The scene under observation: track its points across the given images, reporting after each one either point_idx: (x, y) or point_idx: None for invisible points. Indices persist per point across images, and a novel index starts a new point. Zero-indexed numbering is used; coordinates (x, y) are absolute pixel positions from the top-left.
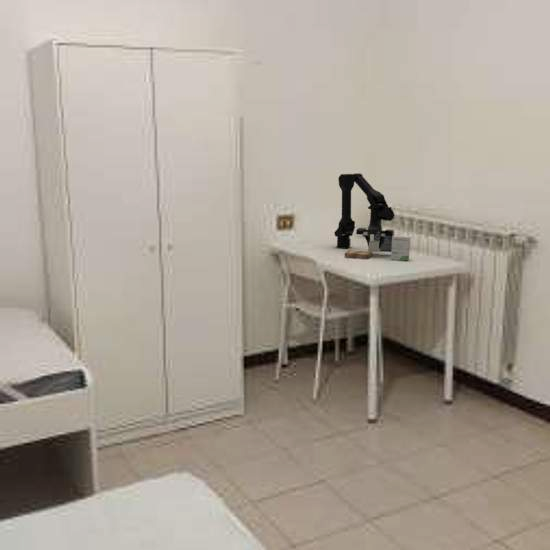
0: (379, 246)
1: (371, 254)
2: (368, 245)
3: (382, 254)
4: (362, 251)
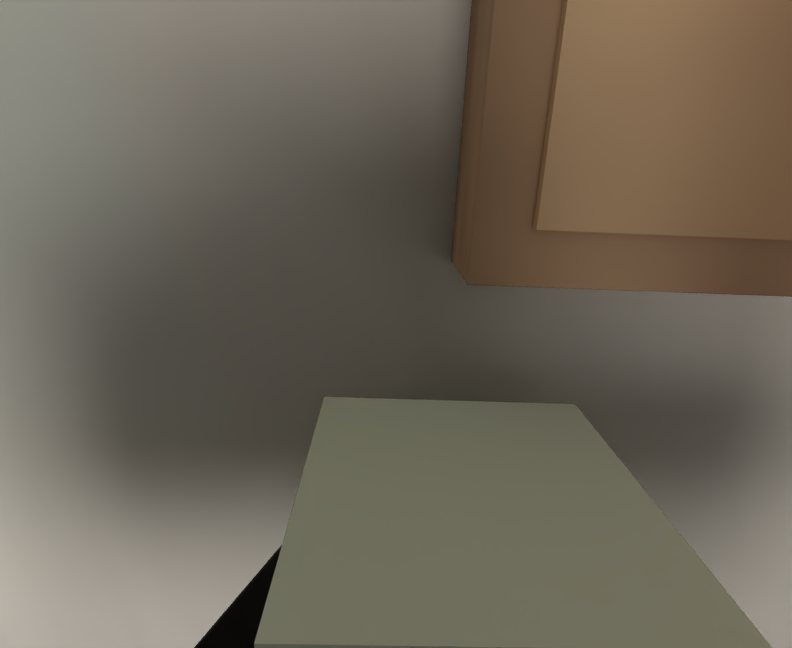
0: None
1: (466, 173)
2: None
3: (278, 508)
4: (775, 155)
